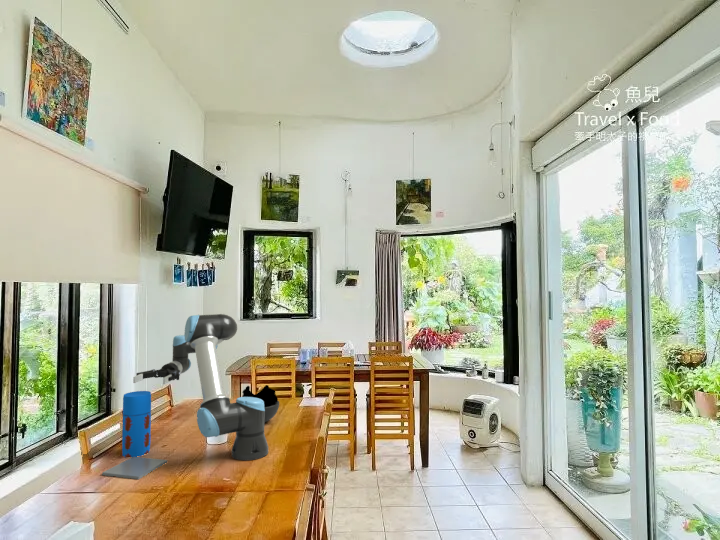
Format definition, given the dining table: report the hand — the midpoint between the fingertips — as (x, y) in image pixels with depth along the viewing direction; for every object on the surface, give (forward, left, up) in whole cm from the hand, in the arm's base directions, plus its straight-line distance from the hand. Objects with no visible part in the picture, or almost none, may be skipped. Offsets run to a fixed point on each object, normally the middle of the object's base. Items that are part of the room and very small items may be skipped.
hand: (149, 380), depth 195 cm
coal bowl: (-33, -43, -29) cm, 61 cm away
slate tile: (-13, +22, -29) cm, 39 cm away
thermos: (-1, +8, -29) cm, 30 cm away
